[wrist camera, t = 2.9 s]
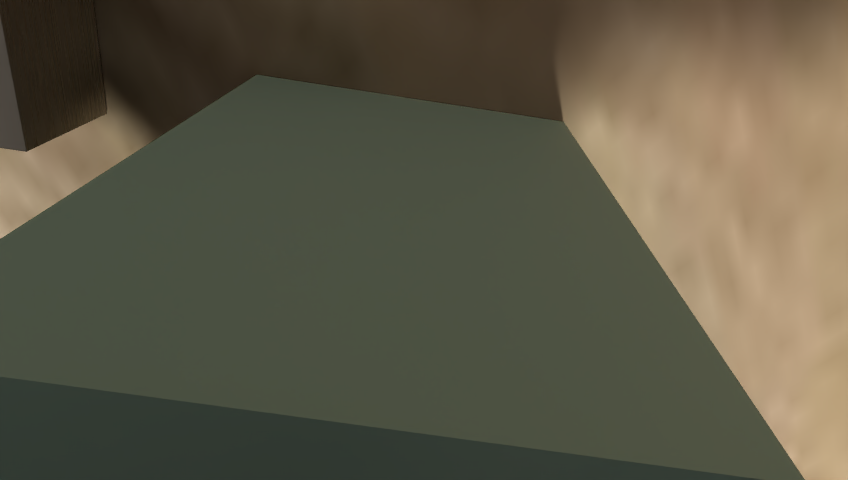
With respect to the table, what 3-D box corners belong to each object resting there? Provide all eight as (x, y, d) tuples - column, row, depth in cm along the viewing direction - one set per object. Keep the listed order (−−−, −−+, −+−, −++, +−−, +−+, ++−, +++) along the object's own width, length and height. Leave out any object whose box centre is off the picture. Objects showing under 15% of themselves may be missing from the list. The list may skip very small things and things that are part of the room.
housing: (491, 397, 12) (577, 1319, 4) (255, 365, 12) (-160, 1251, 4) (563, 122, 9) (1376, 1326, 1) (257, 74, 9) (-1310, 1075, 1)
